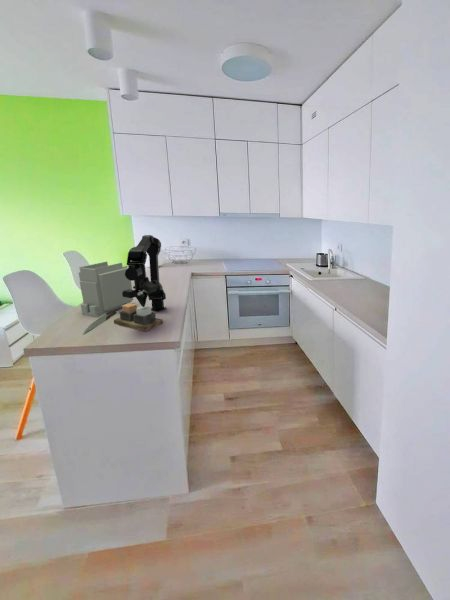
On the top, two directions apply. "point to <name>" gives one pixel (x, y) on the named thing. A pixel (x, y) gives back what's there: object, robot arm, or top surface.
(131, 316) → the button board
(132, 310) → the terracotta button
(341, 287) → the top surface
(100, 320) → the kitchen knife
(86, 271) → the toaster
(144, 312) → the grey button
